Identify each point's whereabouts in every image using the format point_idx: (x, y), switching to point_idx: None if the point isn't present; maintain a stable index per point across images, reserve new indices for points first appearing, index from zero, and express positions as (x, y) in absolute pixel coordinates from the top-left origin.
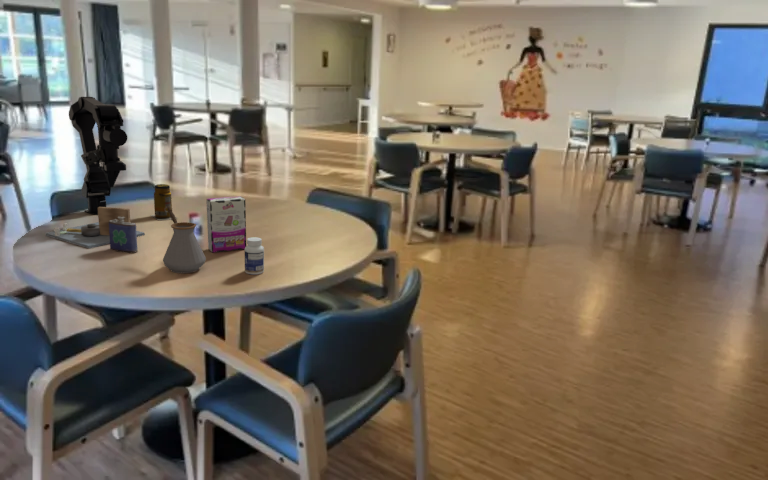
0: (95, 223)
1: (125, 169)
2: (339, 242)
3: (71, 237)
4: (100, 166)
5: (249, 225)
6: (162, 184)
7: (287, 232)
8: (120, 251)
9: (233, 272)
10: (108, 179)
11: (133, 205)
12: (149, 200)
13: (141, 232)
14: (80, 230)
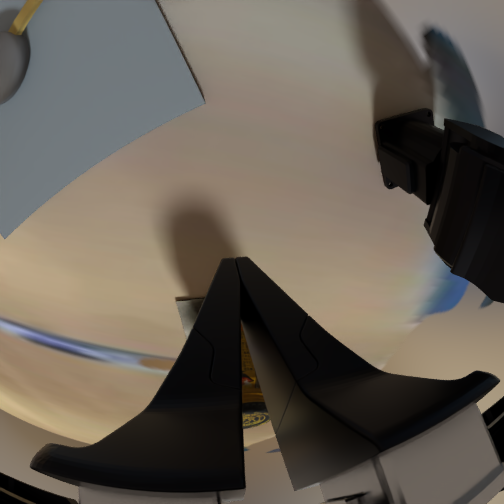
0: (172, 71)
1: (9, 482)
2: (28, 415)
3: (1, 7)
4: (471, 405)
5: (101, 403)
6: (265, 420)
7: (62, 411)
8: None
9: None
10: (193, 324)
11: (409, 266)
12: (420, 303)
13: (5, 231)
14: (12, 25)
